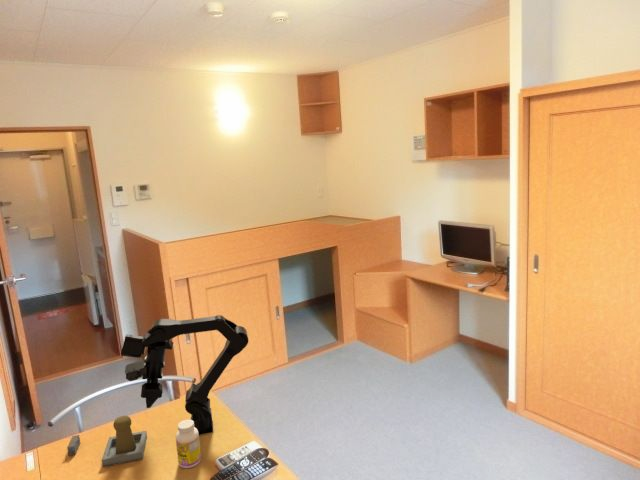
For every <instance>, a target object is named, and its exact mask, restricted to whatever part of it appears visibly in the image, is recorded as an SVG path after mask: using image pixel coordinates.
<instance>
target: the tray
mask: <svg viewBox="0 0 640 480" xmlns="http://www.w3.org/2000/svg"><path fill="white" fill-rule="evenodd" d="M132 434H133V437H134V440H135V444H136V449H135V451H133V452H128V453H123V454H116V435H115V436H109V437H108V440H107V443H106V446H105V448H104V451H103V455H102V458H101V465H102V468H106V467H110V466H116V465H121V464H125V463H132V462H137V461H141V460H143V459H144V455H145V450H146V446H147V445H146V444H147V439H148V435H147V430H142V431H137V432H132Z"/></svg>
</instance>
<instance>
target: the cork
mask: <svg viewBox="0 0 640 480" xmlns="http://www.w3.org/2000/svg"><path fill="white" fill-rule="evenodd" d="M131 426H132V419H131V417H130V416H128V415H121V416H118V417H116V418H115V420H114V421H113V428H114V430H115V436H116V454H123V453H128V452H133V451H135V449H136V444H135V440H134V437H133V434H132V433H133V430H132V428H131Z"/></svg>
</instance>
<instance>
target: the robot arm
mask: <svg viewBox="0 0 640 480" xmlns="http://www.w3.org/2000/svg"><path fill="white" fill-rule="evenodd" d="M211 331H217V332H219V333H220V334H221V335H222V336H223V337H224V338H225V339H226V340H225V343H224V347H223V348H222V350H221V351H220V353H219V354H218V356H217V357H216V358H215V360H214V361H213V363H212V364H211V366H210V367H209V369H207V372H206V373H205V375H204V376H203V378H202V379H201V381H199V382H197V383H194V382H192V384H191V386H190V387H189V388H188V390H186V392H185V403H184V404H185V405H184V409H185V411H186V412H187V413H188V414H190V420H193V421H194V427H195V428H196V429H197V430H198V433H199V436H200V435H207V434H211V433H213V432H214V420H213V413H212V407H211V399H210V398H209V397H208V396H209V393H210V392H211V390H212V388H213V387H214V386H215V384H216V382H217V381H218V379H220V377H221V376H222V375H223V373H224V371H225V370H226V368H227V367H228V365H229V363H230V362H231V361H232V360H233V358H234V357H236V355H239V354H240V353H241V352H242V351H243V350H244V349H245V348H246V347H247V346H248V344H249V336H248V331H247V329H246V328H245V327H244V326H241V325H237V324H236V323H235V322H233V321H231V320H229V319H228V318H226V317H224V315H221V314H217V315H214V316H206V317H200V318H191V319H183V320H177V319H172V318H158V319H156V320H155V321H154V322H152V325H151V327H150V329H148V330H147V332H145V333H144V336H140V335H132V334H130V333H129V334H126V335H125V337H124V341H123V344H122V347H121V351H120V356H121V357H128V358H137V359H138V358H139V359H140V358H142V356H145V355H146V356H145V357H144V358H143V360H142V361H140V360H139V361H135V362H131V363H128V364H126V365H125V367H124V374H125V379H126V380H127V381H128V382H132V381H137V380H138V379H140V378H142V380H146V382H144V383H142V384H141V388H140V397H141V398H142V399H145V406H146V409H150V408H151V407H152V406H153V405H154V404H155V402H156V401H158V399H161V398H163V397H162V396H163V393H164V392H163V388H164V387H163V384H162V383H161V382H159V380H160V379H163V370H164V368H165V359H166V353H167V350H173V347H174V342H173V341H172V340H171V339H174V338H175V337H178V336H182V335H189V334H196V333H204V332H211ZM146 348H147V351H146ZM145 353H146V354H145Z"/></svg>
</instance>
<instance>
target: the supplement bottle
mask: <svg viewBox="0 0 640 480" xmlns="http://www.w3.org/2000/svg"><path fill="white" fill-rule="evenodd" d="M175 443H176V453H177V460H178V465H179V467H181V468H182V469H191V468H194V467H196V466H197V465H199V463H200V462H201V460H202V453H201V444H200V435H199V433H198V430H197V429H196V428H195V427H194V421H193V420H191V419H189V418H188V419H183V420H182V421H180V422H178V424H177V432H176V434H175Z"/></svg>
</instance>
